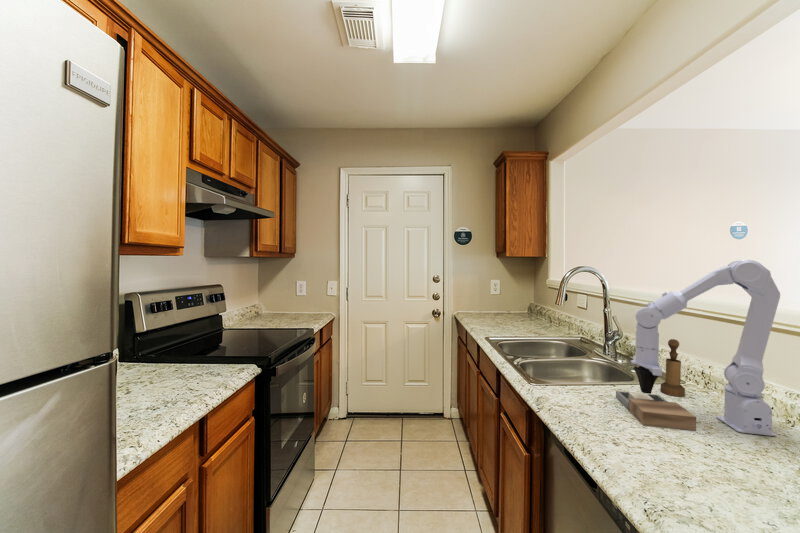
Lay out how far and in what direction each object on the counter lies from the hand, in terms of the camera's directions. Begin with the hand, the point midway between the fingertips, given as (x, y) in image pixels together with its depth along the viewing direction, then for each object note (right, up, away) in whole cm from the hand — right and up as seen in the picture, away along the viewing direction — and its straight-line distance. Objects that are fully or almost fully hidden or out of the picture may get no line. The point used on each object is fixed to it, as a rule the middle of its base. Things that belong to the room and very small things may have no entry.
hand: (646, 392), depth 106 cm
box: (0, -4, +1) cm, 5 cm away
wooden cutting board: (-2, -4, -9) cm, 10 cm away
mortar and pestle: (+17, -5, +12) cm, 22 cm away
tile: (0, -2, +2) cm, 3 cm away
